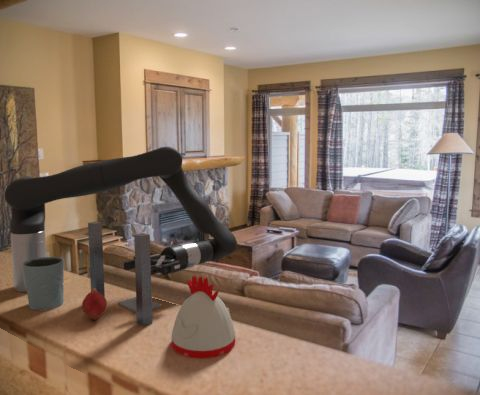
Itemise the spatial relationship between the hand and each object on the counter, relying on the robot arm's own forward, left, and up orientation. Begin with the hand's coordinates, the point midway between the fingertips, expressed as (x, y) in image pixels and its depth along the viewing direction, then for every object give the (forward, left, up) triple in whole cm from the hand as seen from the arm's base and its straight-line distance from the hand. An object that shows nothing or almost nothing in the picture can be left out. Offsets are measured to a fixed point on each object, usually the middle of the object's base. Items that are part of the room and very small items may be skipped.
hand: (133, 269), depth 117 cm
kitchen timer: (+29, -1, -11) cm, 31 cm away
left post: (-11, -4, -10) cm, 16 cm away
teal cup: (-19, -15, -10) cm, 27 cm away
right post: (+11, -4, -10) cm, 16 cm away
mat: (0, +2, -10) cm, 10 cm away
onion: (0, -11, -10) cm, 15 cm away
